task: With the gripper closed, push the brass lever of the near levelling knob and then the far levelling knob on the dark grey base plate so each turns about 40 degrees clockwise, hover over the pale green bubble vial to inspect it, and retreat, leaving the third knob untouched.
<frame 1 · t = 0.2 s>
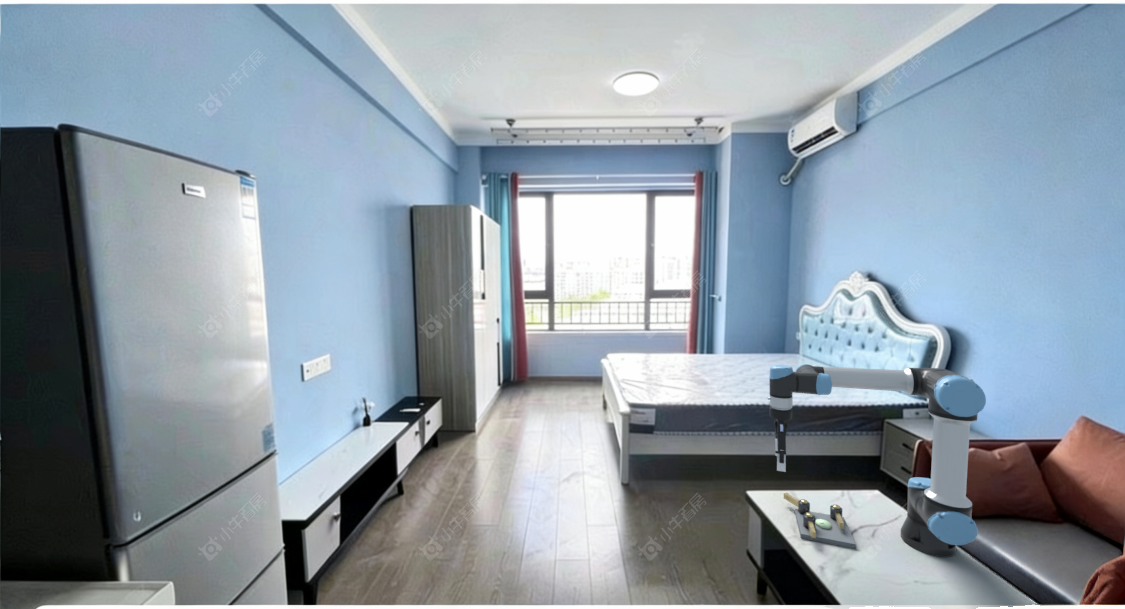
hand: (780, 463, 156), 27 cm above the table, fingers open, 13 cm apart
knob b: (796, 501, 172), point 4 cm above the table, hinge at 0.0°
knob c: (810, 525, 155), point 4 cm above the table, hinge at 0.0°
base plate: (823, 529, 160), on the table
knob a: (838, 517, 160), point 4 cm above the table, hinge at 0.0°
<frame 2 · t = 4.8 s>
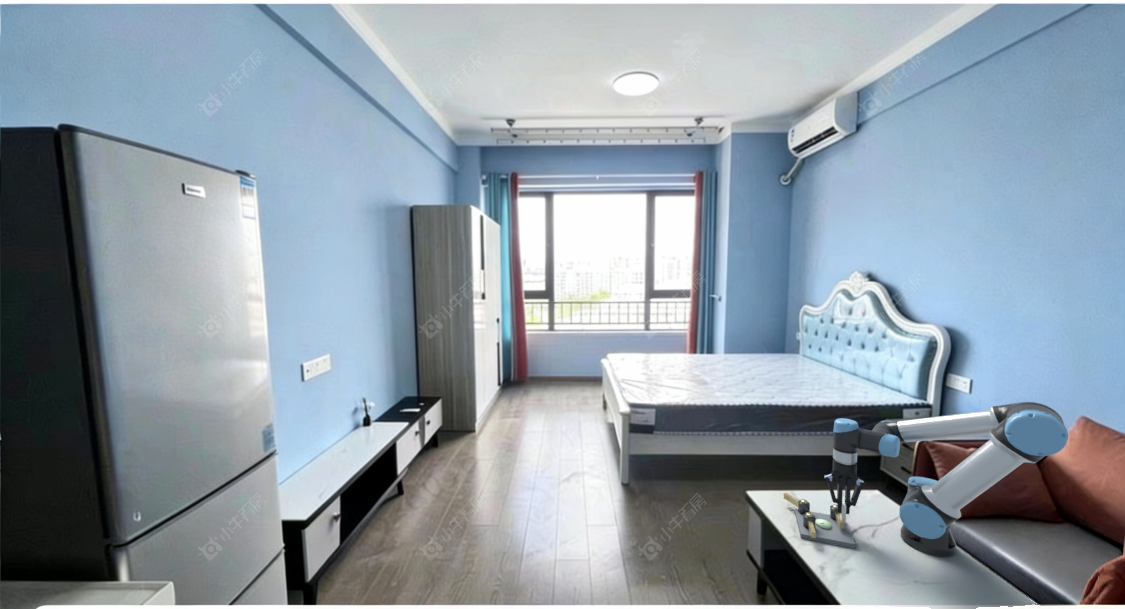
hand: (842, 521, 158), 4 cm above the table, fingers closed
knob a: (838, 517, 160), point 4 cm above the table, hinge at 0.0°, touching gripper
everything else where it was.
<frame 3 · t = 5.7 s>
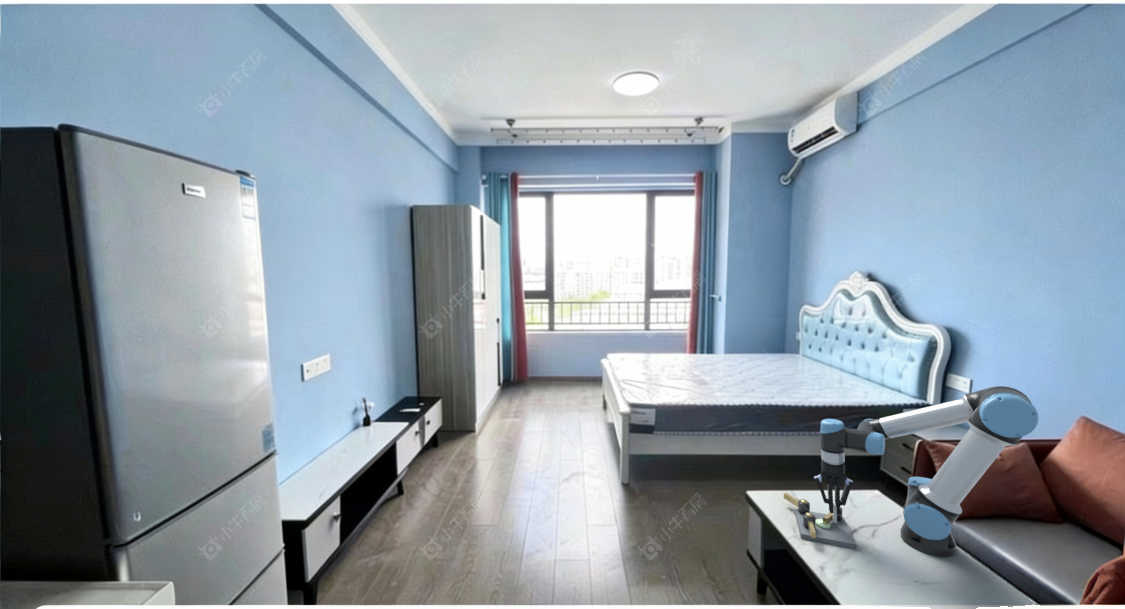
hand: (834, 521, 159), 3 cm above the table, fingers closed
knob a: (831, 515, 162), point 4 cm above the table, hinge at -32.7°, touching gripper
everything else where it was.
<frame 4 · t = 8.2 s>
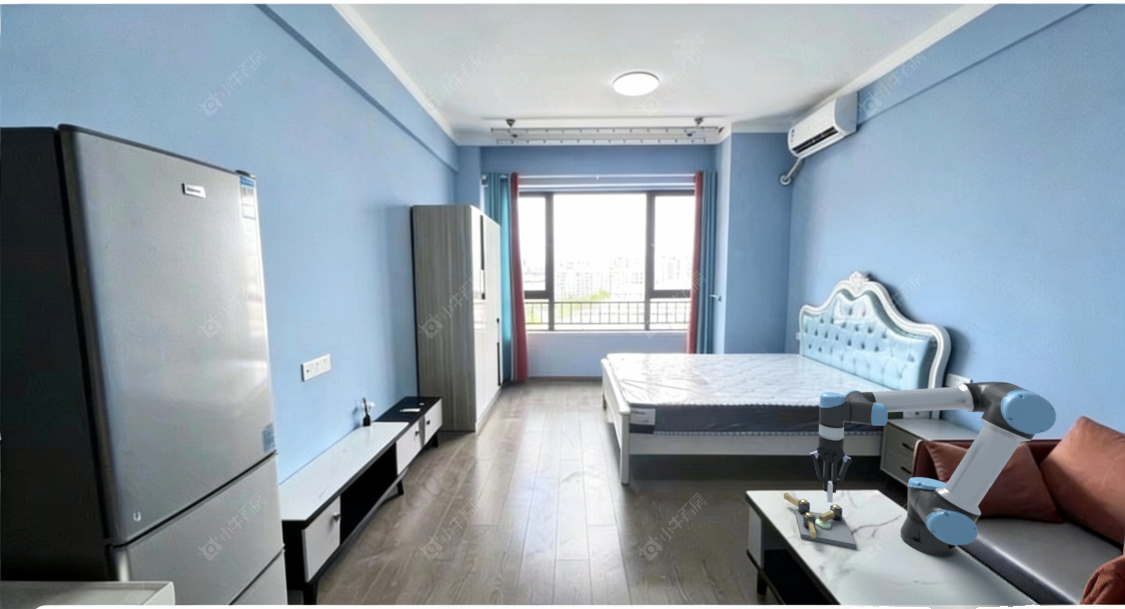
hand: (829, 500, 151), 16 cm above the table, fingers closed
knob a: (830, 514, 162), point 4 cm above the table, hinge at -40.9°
everything else where it was.
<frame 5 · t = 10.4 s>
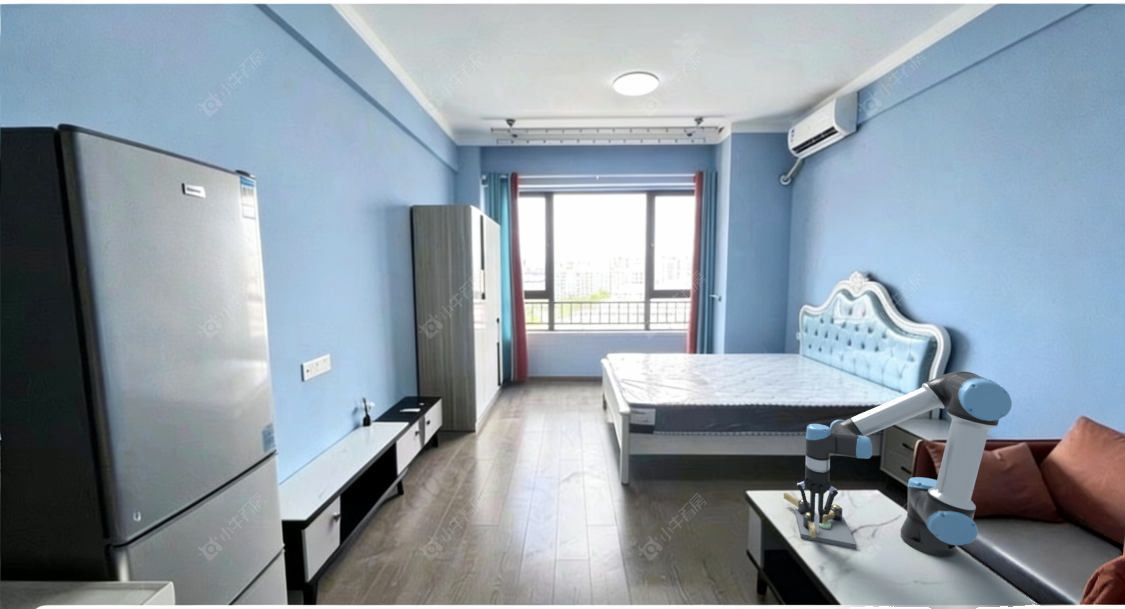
hand: (815, 530, 153), 4 cm above the table, fingers closed
knob c: (810, 525, 155), point 4 cm above the table, hinge at 0.0°, touching gripper
everything else where it was.
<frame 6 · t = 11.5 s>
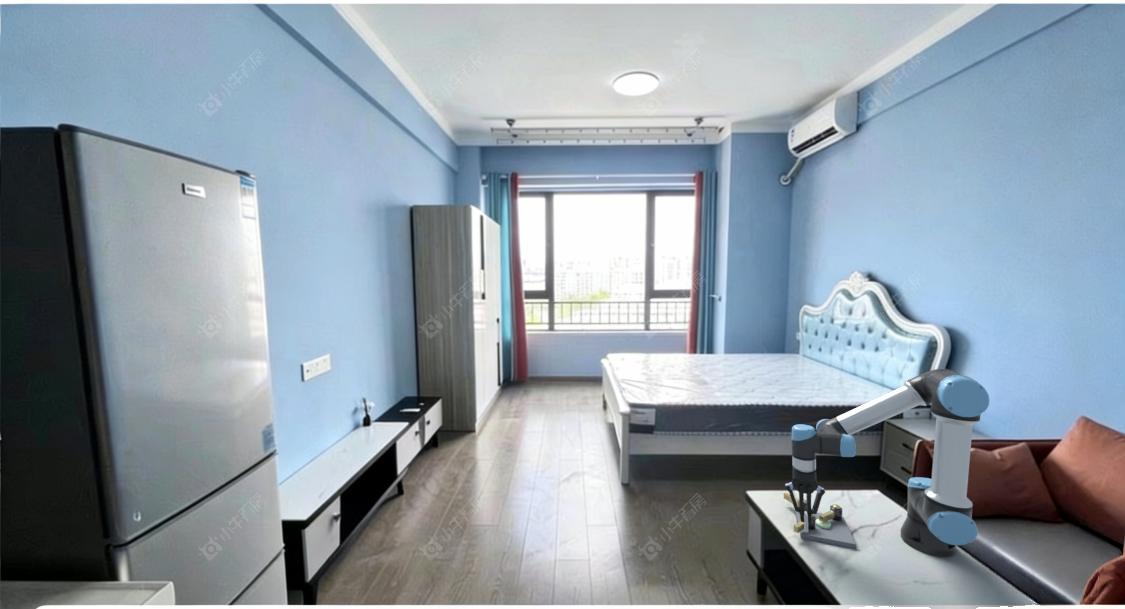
hand: (805, 530, 154), 3 cm above the table, fingers closed
knob c: (804, 523, 157), point 4 cm above the table, hinge at -34.3°, touching gripper
everything else where it was.
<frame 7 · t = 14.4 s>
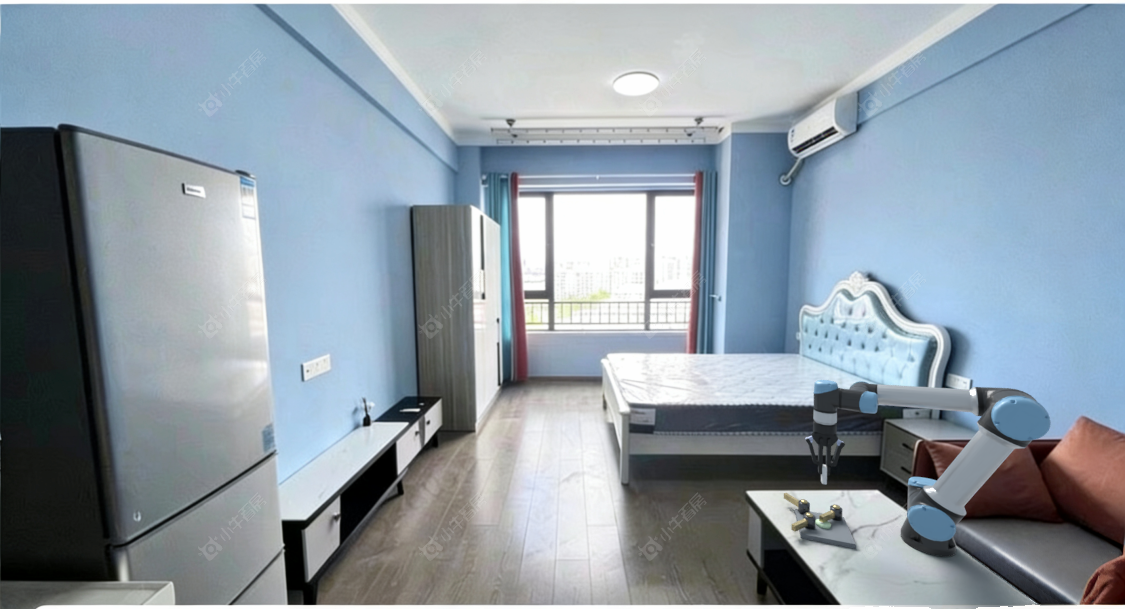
hand: (823, 482, 159), 18 cm above the table, fingers closed
knob c: (803, 523, 157), point 4 cm above the table, hinge at -40.1°
everything else where it was.
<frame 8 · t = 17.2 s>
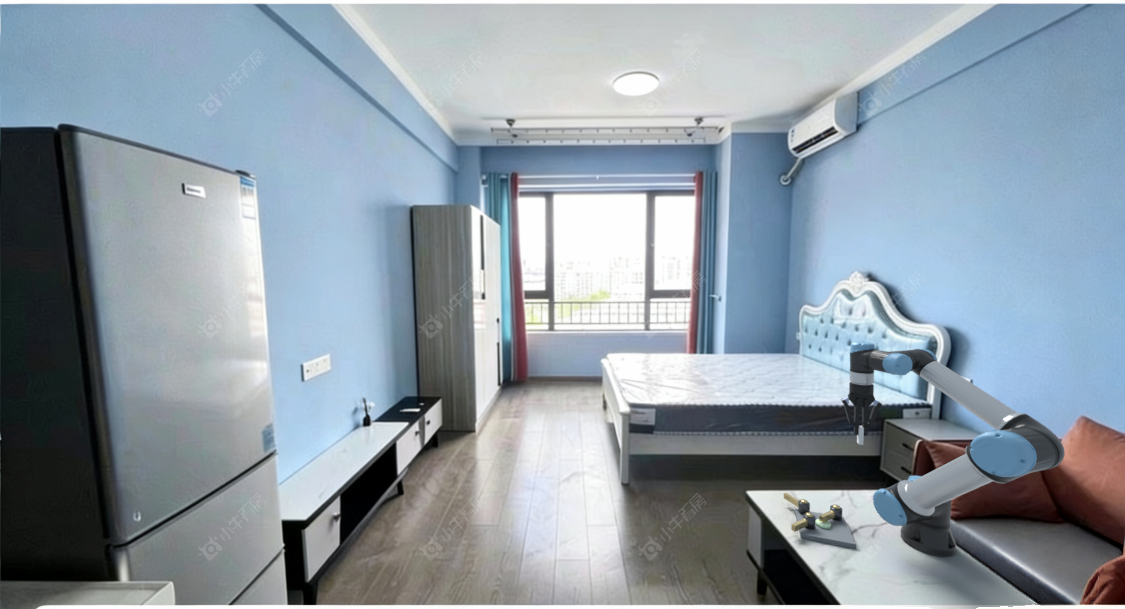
hand: (860, 443, 160), 32 cm above the table, fingers closed
nothing on the table moved.
at the end: knob a at -41° (first picture: +0°); knob c at -40° (first picture: +0°); knob b at +0° (first picture: +0°) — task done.
